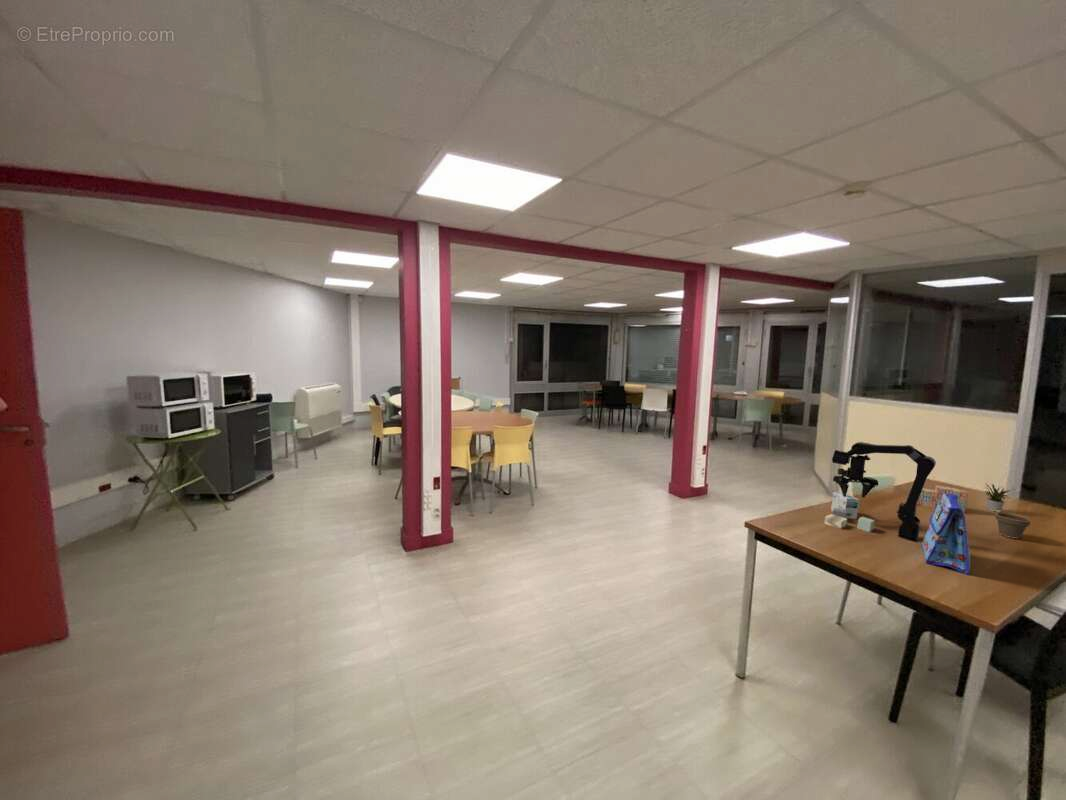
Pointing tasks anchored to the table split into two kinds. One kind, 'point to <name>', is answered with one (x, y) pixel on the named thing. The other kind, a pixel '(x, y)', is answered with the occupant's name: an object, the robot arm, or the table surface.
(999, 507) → the house plant
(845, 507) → the light bulb box
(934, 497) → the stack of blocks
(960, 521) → the lunch bag
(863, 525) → the sage block
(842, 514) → the grey block
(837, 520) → the birch slab
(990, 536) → the table surface
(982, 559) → the table surface
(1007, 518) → the flower pot
